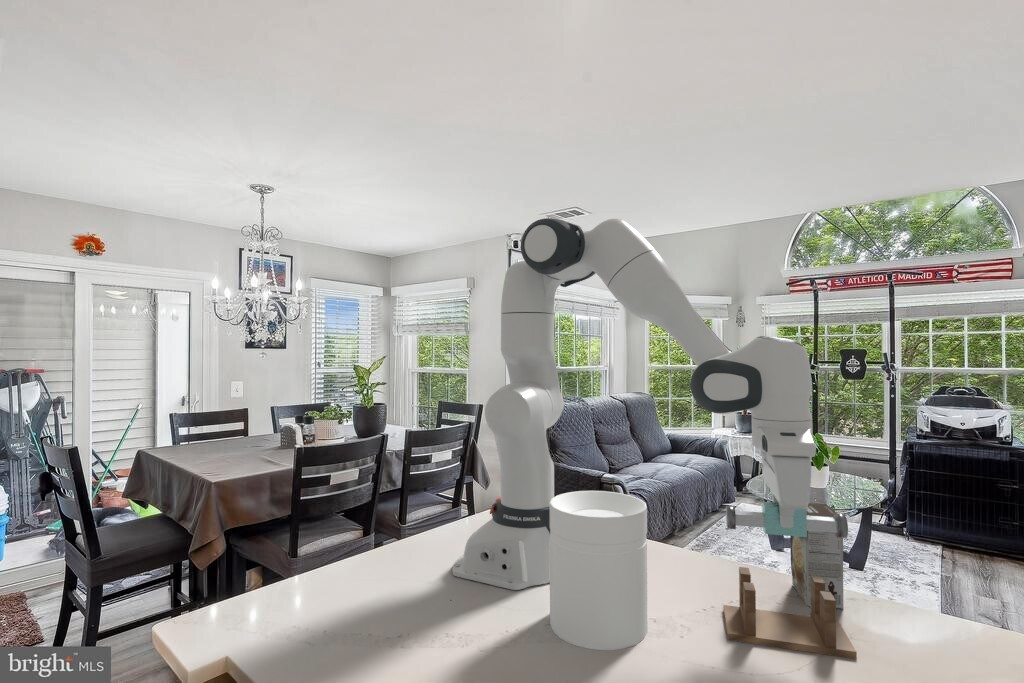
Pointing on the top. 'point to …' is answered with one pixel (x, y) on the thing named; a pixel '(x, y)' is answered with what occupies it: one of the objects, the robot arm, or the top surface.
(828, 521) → the bar
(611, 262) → the robot arm
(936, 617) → the top surface
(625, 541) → the canister
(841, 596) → the coffee box
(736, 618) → the rack
